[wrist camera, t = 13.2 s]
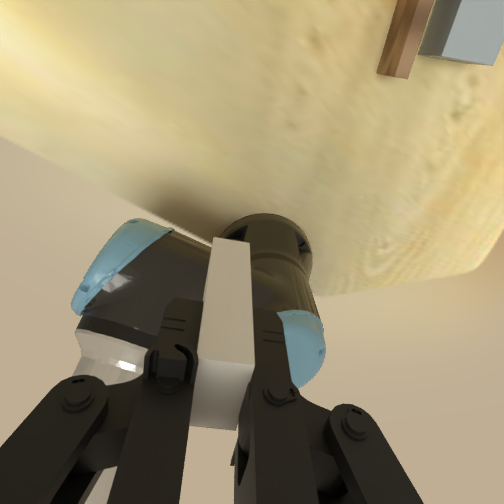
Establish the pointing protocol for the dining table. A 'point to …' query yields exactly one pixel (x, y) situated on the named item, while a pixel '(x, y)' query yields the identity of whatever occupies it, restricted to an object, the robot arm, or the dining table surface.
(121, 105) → the dining table surface
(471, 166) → the dining table surface
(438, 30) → the grey block
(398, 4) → the corner fence
